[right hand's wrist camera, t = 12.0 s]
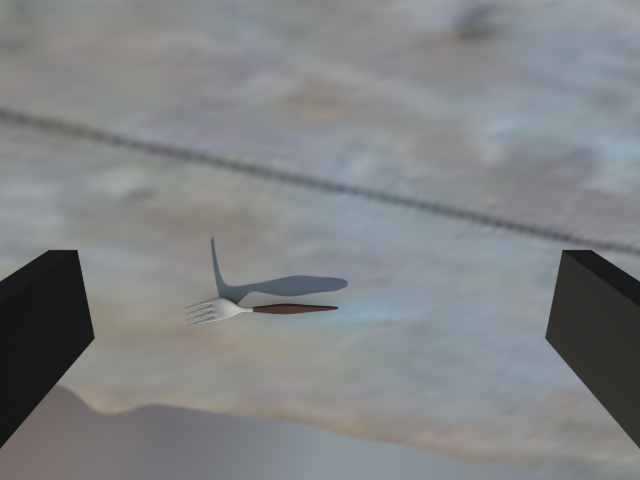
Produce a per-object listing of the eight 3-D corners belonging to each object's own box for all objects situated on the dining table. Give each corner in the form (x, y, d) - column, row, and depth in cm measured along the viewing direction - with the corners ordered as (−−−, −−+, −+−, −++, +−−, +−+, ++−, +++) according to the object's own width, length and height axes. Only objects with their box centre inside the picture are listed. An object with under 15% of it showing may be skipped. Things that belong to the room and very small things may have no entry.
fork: (337, 316, 49) (338, 326, 47) (191, 319, 49) (186, 328, 48) (337, 295, 48) (338, 303, 46) (188, 297, 48) (183, 306, 47)
